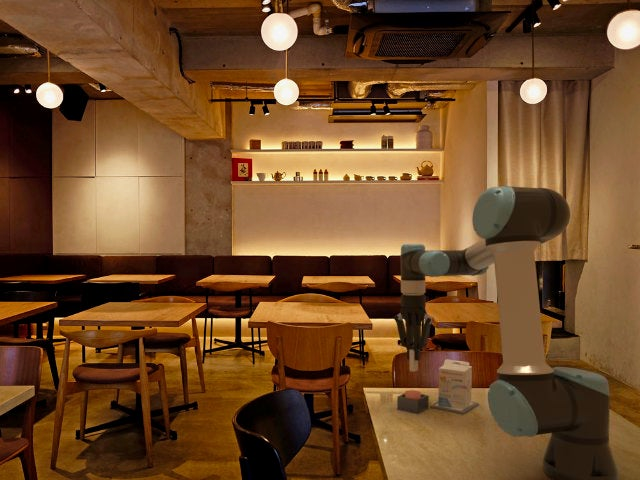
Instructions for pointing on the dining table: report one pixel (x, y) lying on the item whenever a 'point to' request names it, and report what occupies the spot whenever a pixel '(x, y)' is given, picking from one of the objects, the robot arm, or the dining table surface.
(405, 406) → the button housing
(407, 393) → the button
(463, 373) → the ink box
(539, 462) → the dining table surface
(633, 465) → the dining table surface
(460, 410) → the board
